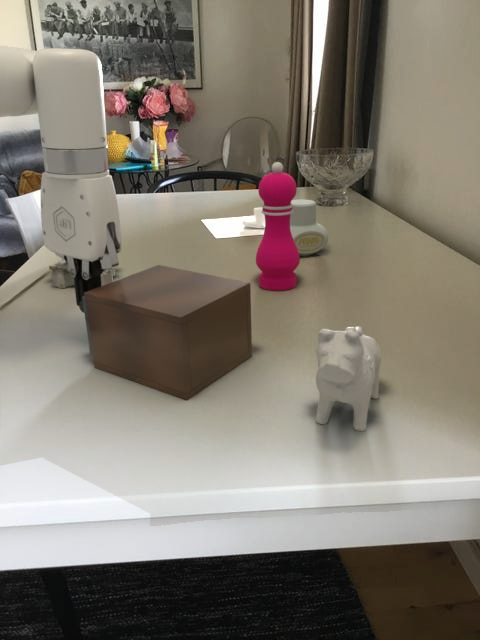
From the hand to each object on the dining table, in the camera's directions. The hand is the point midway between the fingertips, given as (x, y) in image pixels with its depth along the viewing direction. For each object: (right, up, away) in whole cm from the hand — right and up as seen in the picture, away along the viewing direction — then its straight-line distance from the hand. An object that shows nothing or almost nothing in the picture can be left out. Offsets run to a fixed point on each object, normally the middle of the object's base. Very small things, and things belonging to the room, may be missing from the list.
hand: (90, 303), depth 75 cm
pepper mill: (+26, +4, +20) cm, 33 cm away
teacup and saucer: (+22, +20, +61) cm, 68 cm away
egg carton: (-7, +5, +25) cm, 26 cm away
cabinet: (+12, -7, -6) cm, 15 cm away
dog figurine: (+31, -12, -18) cm, 37 cm away
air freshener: (+32, +11, +38) cm, 51 cm away
